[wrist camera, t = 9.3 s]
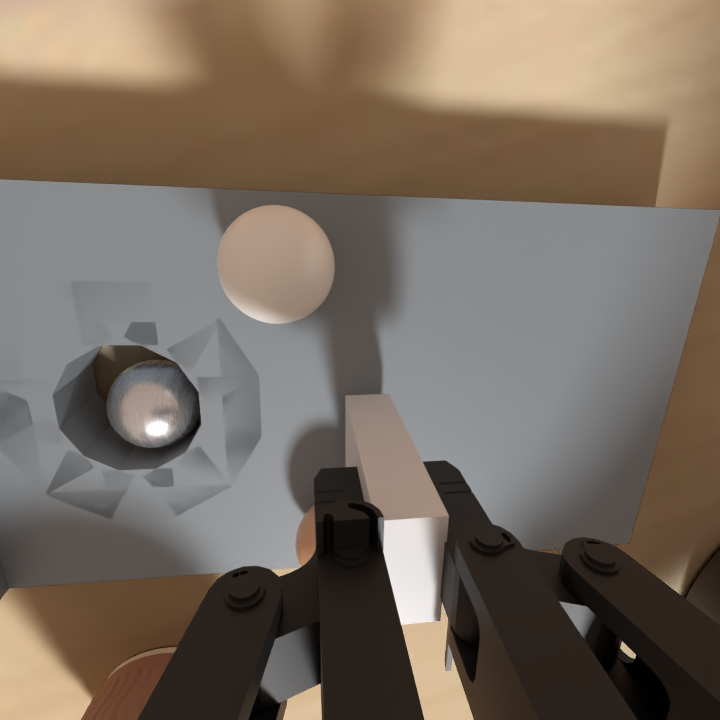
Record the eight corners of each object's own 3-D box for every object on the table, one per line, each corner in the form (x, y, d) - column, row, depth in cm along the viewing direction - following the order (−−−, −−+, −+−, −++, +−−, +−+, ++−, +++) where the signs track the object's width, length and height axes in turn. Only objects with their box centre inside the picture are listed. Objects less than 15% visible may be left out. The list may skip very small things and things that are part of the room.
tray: (655, 210, 18) (765, 209, 14) (587, 501, 22) (655, 569, 18) (-61, 180, 14) (-208, 168, 10) (25, 534, 19) (-52, 627, 15)
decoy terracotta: (380, 474, 17) (398, 532, 14) (376, 543, 18) (392, 611, 15) (295, 478, 16) (294, 539, 13) (295, 549, 17) (295, 620, 14)
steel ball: (179, 394, 14) (78, 383, 14) (187, 471, 16) (95, 461, 16) (213, 349, 17) (129, 340, 17) (217, 418, 18) (139, 410, 18)
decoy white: (331, 207, 14) (341, 207, 11) (330, 310, 15) (338, 336, 12) (222, 203, 13) (201, 201, 10) (229, 310, 14) (211, 337, 11)
